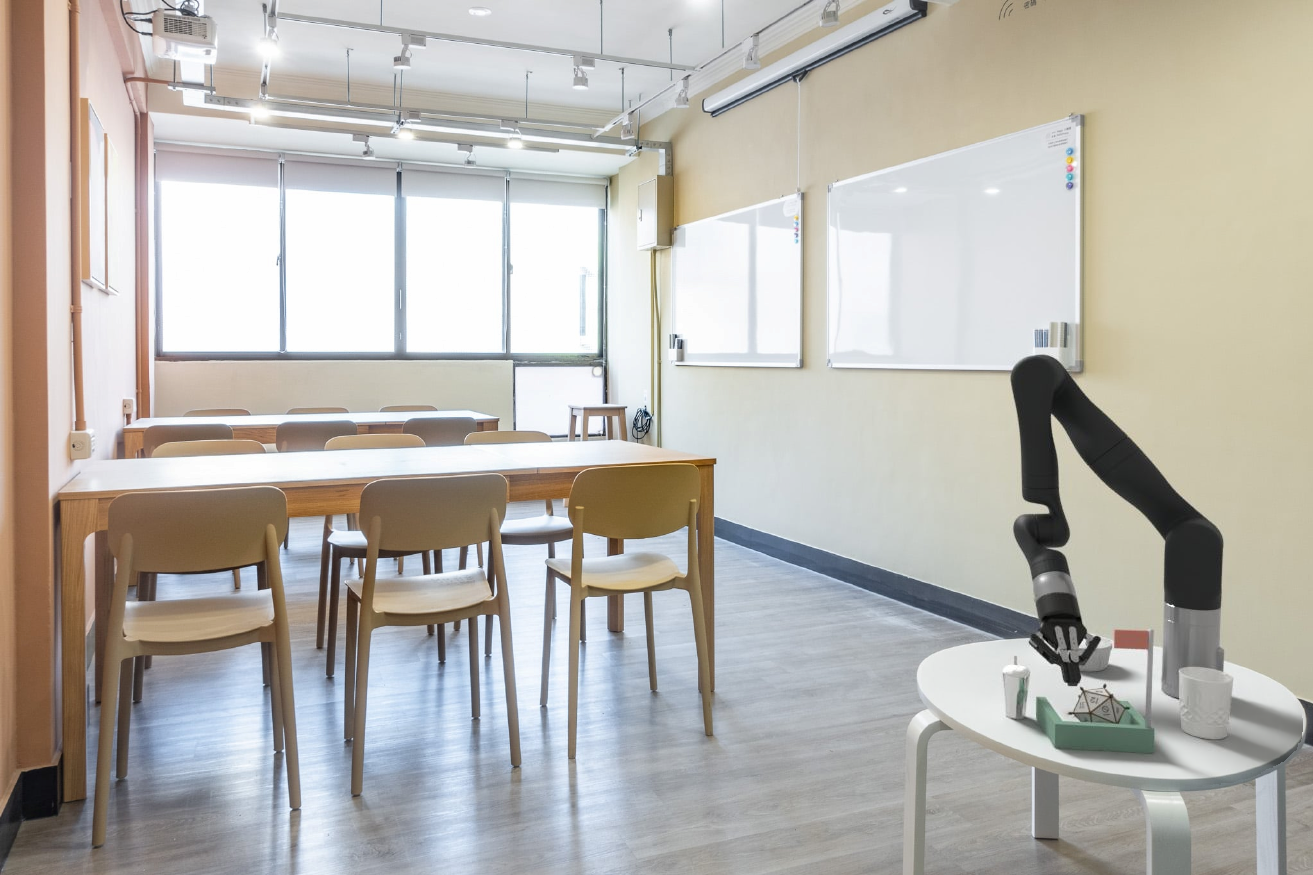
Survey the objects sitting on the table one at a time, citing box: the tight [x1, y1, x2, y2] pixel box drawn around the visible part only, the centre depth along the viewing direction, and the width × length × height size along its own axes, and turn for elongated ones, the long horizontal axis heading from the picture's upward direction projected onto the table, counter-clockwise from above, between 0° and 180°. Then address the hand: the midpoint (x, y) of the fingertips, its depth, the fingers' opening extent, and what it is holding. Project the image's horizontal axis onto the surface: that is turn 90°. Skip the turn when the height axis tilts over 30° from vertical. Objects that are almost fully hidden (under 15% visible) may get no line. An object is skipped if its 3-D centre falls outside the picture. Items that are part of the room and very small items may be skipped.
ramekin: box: [1078, 634, 1113, 673], centre depth 187 cm, size 11×11×5 cm
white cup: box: [1178, 667, 1234, 740], centre depth 152 cm, size 8×8×10 cm
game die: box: [1067, 682, 1130, 724], centre depth 152 cm, size 9×8×10 cm
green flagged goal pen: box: [1035, 628, 1156, 755], centre depth 150 cm, size 15×12×20 cm
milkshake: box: [1002, 655, 1031, 720], centre depth 160 cm, size 4×5×10 cm
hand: (1073, 684), depth 162 cm, fingers closed
